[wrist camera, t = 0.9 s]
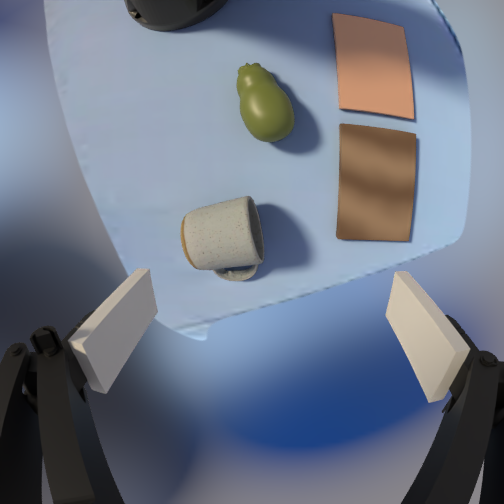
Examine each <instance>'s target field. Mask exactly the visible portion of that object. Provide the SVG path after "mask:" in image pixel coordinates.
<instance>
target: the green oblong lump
mask: <svg viewBox="0 0 504 504" xmlns="http://www.w3.org/2000/svg"><path fill="white" fill-rule="evenodd" d="M247 64H248V63H246V65H245V66H242V67H240V68H239V70H238V74H239V76H238V78H237V91H238V94H239V97H240V112H241V116H242V119H243V121H244V123H245V125H246V127H247V129H248V130H249V132H250V133H251V134H252V135H253V136H254V137H255V138H256V139H258V140H260V141H263V142H275V141H279V140H281V139H283V138H285V137H286V136H288V135H289V134H290V132H291V131H292V129H293V127H294V122H295V118H294V111H293V107H292V104H291V102H290V100H289V98H288V96H287V94H286V93H285V92H284V91H283V90H282V89H281V88H280V87H279V86H278V85H277V83H276V81H275V79H274V77H273V76H272V74H271V73H270V72H268V71H267V70H266V69H264V68H262V67H261V65H260V64H259V63H254V64H252V65H249V64H248V65H247Z"/></svg>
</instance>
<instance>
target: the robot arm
mask: <svg viewBox="0 0 504 504" xmlns="http://www.w3.org/2000/svg"><path fill="white" fill-rule="evenodd" d="M124 1H125V4H126V7H127V10H128V12H129V14H130V16H131V17H132V18H133V19H134V20H135V21H137V22H138V23H139V24H140V25H142V26H143V27H145V28H148V29H151V30H156V31H171V30H177V29H182V28H185V27H189V26H191V25H194V24H196V23H199V22H201V21H203V20H205V19H206V18H208V17H210V16H211V15H213V14H214V13H215V12H217V11H218V10H219V9H220V8H221V7H222V6H223V5H224V4H225V3H226V2H227V1H228V0H124ZM157 312H158V310H157V306H156V301H155V296H154V291H153V286H152V281H151V276H150V270H149V269H138V268H137V269H136V270H135V271H134V272H133V273H132V274H131V275H130V276H129V277H128V278H127V279H126V280H125V281H124V282H123V283H122V284H121V285H120V286H119V287H118V288H117V289H116V290H115V291H114V292H113V293H112V294H111V295H110V296H109V297H108V298H107V299H106V300H105V301H104V302H103V303H102V304H101V305H100V306H99V307H98V308H97V310H93V311H92V312H90V313H88V314H87V315H85V316H84V318H83V319H82V320H81V321H80V323H78V324H77V325H76V326H75V328H73V329H72V330H71V331H70V332H69V333H68V335H67V336H66V337H65V338H64V339H63V340H62V341H61V340H60V338H59V336H58V334H57V331H56V329H55V328H54V327H52V326H44V327H41V328H38V329H37V330H36V331H34V332H33V333H32V334H31V336H30V341H31V343H32V345H33V347H34V349H35V351H36V352H29V350H28V348H27V346H26V344H24V343H20V342H19V343H15V344H13V345H11V346H10V347H9V348H8V349H7V351H6V352H5V354H4V357H3V359H2V361H1V363H0V504H42V488H41V487H42V458H44V464H45V469H46V473H47V478H48V483H49V487H50V491H51V495H52V499H53V503H54V504H125V503H124V501H123V499H122V497H121V495H120V493H119V490H118V488H117V486H116V483H115V481H114V478H113V476H112V474H111V471H110V468H109V466H108V463H107V460H106V458H105V455H104V452H103V449H102V446H101V444H100V440H99V437H98V434H97V430H96V427H95V424H94V420H93V417H92V413H91V409H90V405H89V401H88V396H87V392H86V390H85V388H84V385H85V383H86V382H87V381H88V383H89V384H90V386H91V388H92V390H95V391H98V392H101V393H105V394H106V393H107V392H108V390H109V388H110V387H111V385H112V383H113V382H114V380H115V378H116V377H117V375H118V374H119V372H120V370H121V369H122V367H123V365H124V364H125V362H126V361H127V359H128V357H129V356H130V354H131V353H132V351H133V349H134V348H135V346H136V345H137V343H138V342H139V340H140V338H141V337H142V335H143V334H144V332H145V331H146V329H147V328H148V326H149V325H150V323H151V321H152V320H153V318H154V317H155V315H156V314H157ZM386 317H387V319H388V321H389V323H390V325H391V326H392V328H393V330H394V332H395V334H396V336H397V338H398V339H399V342H400V343H401V345H402V347H403V349H404V351H405V353H406V355H407V357H408V359H409V361H410V363H411V365H412V367H413V369H414V372H415V374H416V375H417V378H418V380H419V382H420V384H421V386H422V388H423V391H424V393H425V395H426V397H427V400H428V402H433V401H437V400H441V399H443V398H444V397H445V395H446V393H447V391H448V390H450V392H451V394H452V396H451V398H450V400H449V401H448V403H447V404H446V406H445V407H444V409H443V410H442V413H443V412H444V411H445V413H444V416H443V419H442V422H441V424H440V427H439V430H438V432H437V434H436V437H435V440H434V441H433V444H432V446H431V448H430V451H429V453H428V455H427V457H426V459H425V461H424V463H423V465H422V467H421V469H420V471H419V473H418V475H417V477H416V479H415V480H414V482H413V484H412V486H411V487H410V489H409V491H408V492H407V494H406V496H405V497H404V499H403V501H402V502H401V504H468V503H469V501H470V498H471V496H472V493H473V491H474V488H475V485H476V483H477V480H478V477H479V474H480V471H481V467H482V464H483V461H484V470H483V481H482V488H481V495H480V501H479V504H504V362H500V361H498V359H497V357H496V356H495V355H493V354H492V353H490V352H488V351H479V350H478V348H477V347H476V346H475V344H474V343H473V342H472V340H471V339H470V338H469V336H468V335H467V334H465V331H464V330H463V329H461V326H460V325H459V324H458V323H457V321H456V320H454V319H453V318H452V317H450V316H449V315H444V314H443V312H442V311H441V310H440V309H439V308H438V306H437V305H436V304H435V303H434V302H433V300H432V299H431V298H430V297H429V296H428V294H427V293H425V291H424V290H423V289H422V288H421V286H420V285H419V284H418V283H417V282H416V281H415V280H414V279H413V277H412V276H411V275H410V274H409V273H408V272H407V271H405V272H404V271H401V272H395V275H394V280H393V285H392V289H391V294H390V298H389V303H388V307H387V311H386ZM22 386H23V387H24V389H25V392H24V394H23V393H22Z"/></svg>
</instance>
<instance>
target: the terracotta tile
mask: <svg viewBox="0 0 504 504" xmlns="http://www.w3.org/2000/svg"><path fill="white" fill-rule="evenodd" d="M332 23H333V31H334V40H335V51H336V62H337V76H338V95H339V109H344V110H354V111H362V112H370V113H377V114H383V115H390V116H395V117H401V118H406V119H411V120H412V119H414V106H413V92H412V81H411V72H410V64H409V56H408V50H407V44H406V38H405V33H404V28H403V27H401V26H398V25H394V24H390V23H386V22H382V21H377V20H373V19H368V18H363V17H357V16H351V15H345V14H338V13H332Z"/></svg>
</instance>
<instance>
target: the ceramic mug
mask: <svg viewBox="0 0 504 504" xmlns="http://www.w3.org/2000/svg"><path fill="white" fill-rule="evenodd" d="M181 243H182V247H183V251H184V253H185V256H186V258H187V260H188V261H189V263H190V264H191V265H192V266H193V267H194V268H196V269H199V270H213V271H214V273H215V274H216V275H217V276H219V277H220V278H223V279H225V280H229V281H242V280H246V279H249V278H251V277H252V276H253V275H254V274H255V273H256V271H257V268H258V264H261V263H263V261H264V242H263V233H262V229H261V223H260V219H259V214H258V211H257V208H256V205H255V203H254V200H253V199H252V198H251V197H250V196H245V197H241V198H237V199H233V200H229V201H225V202H221V203H217V204H214V205H209V206H205V207H201V208H198V209H196V210H193V211H191V212H189V213H188V214H186V216H185V217H184V219H183V221H182V224H181ZM248 265H253V266H252V267H251V268H249V269H247V270H241V271H227V270H225V269H223V268H229V267H239V266H248Z"/></svg>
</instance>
